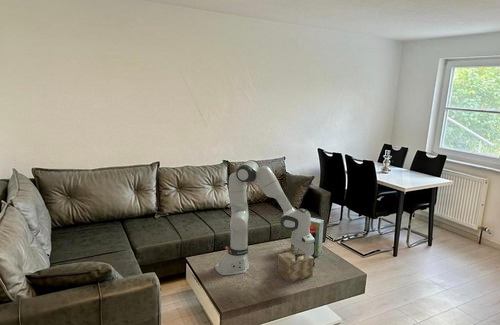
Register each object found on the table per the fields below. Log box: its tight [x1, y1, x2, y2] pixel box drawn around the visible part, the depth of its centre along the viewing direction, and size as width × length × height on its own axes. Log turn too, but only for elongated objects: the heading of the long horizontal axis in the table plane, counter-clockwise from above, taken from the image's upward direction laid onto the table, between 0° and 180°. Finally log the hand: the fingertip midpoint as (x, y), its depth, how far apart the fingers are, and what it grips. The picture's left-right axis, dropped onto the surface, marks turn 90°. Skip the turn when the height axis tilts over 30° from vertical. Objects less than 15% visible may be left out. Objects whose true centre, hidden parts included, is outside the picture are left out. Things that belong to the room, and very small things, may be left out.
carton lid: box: [278, 250, 315, 264], centre depth 221 cm, size 18×13×5 cm
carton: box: [277, 254, 315, 283], centre depth 223 cm, size 18×13×12 cm
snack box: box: [290, 217, 325, 258], centre depth 255 cm, size 22×9×26 cm, turn 58°
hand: (301, 256), depth 216 cm, fingers open, 8 cm apart
